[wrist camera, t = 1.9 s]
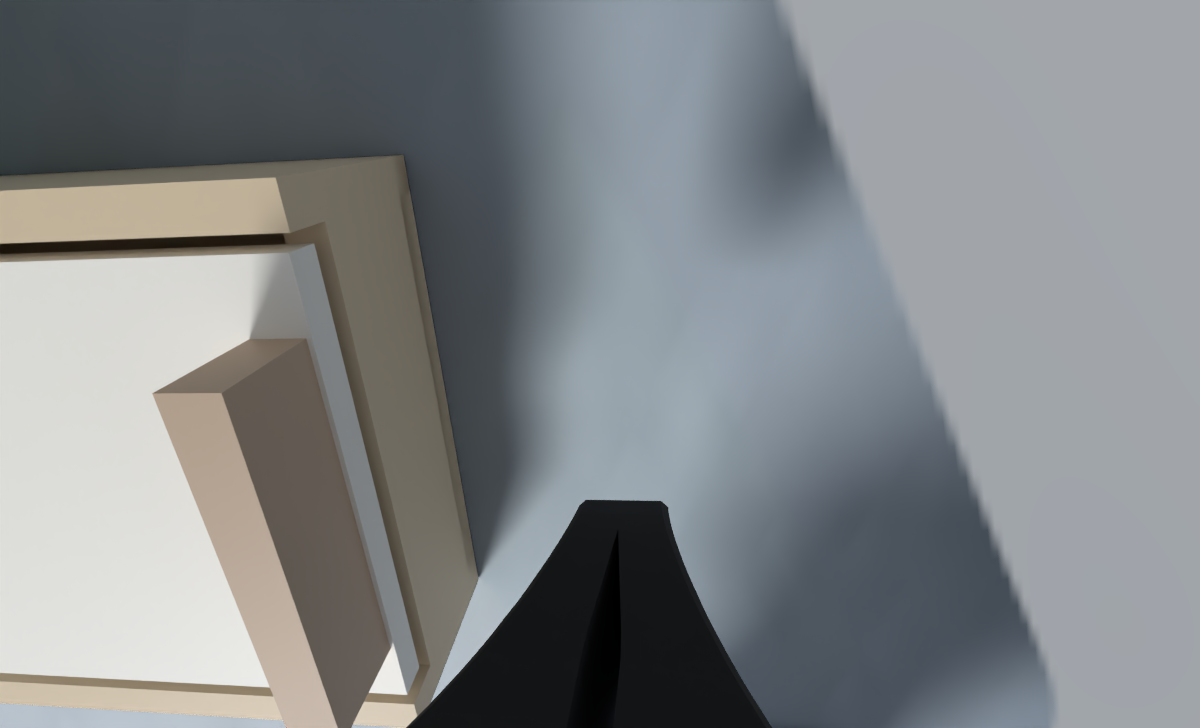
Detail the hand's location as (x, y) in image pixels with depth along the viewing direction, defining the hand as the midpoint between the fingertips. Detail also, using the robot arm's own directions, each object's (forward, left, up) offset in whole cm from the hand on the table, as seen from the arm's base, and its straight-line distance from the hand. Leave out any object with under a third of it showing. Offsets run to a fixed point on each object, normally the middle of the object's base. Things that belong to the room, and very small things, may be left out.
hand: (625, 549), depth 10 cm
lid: (0, +10, -1) cm, 11 cm away
